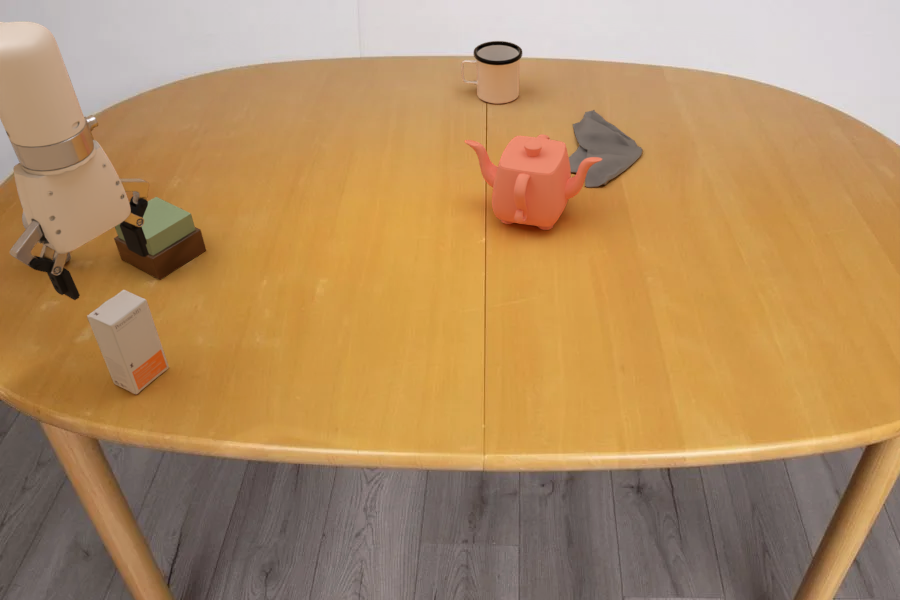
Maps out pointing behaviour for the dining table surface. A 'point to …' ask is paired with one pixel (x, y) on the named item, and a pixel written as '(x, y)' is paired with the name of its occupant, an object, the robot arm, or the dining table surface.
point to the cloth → (602, 149)
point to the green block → (163, 225)
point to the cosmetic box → (128, 341)
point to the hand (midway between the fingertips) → (105, 273)
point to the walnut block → (165, 255)
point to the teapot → (531, 180)
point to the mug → (496, 71)
